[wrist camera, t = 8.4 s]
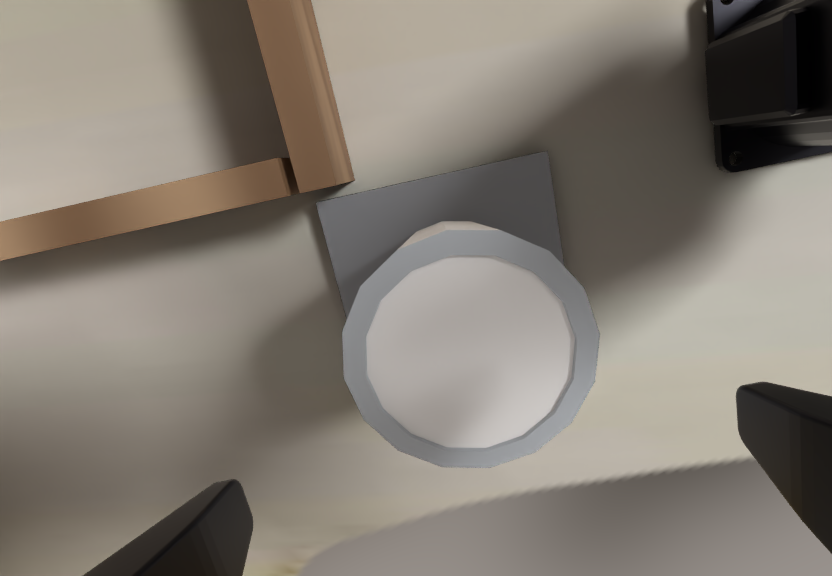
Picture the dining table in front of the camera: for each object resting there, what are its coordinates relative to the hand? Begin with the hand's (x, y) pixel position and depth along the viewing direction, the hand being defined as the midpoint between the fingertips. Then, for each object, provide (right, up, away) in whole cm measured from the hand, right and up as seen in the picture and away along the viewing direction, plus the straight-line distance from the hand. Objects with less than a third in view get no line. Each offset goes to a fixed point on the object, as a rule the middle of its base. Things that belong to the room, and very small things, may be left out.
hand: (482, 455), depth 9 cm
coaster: (0, +3, +11) cm, 12 cm away
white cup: (0, +3, +11) cm, 11 cm away
